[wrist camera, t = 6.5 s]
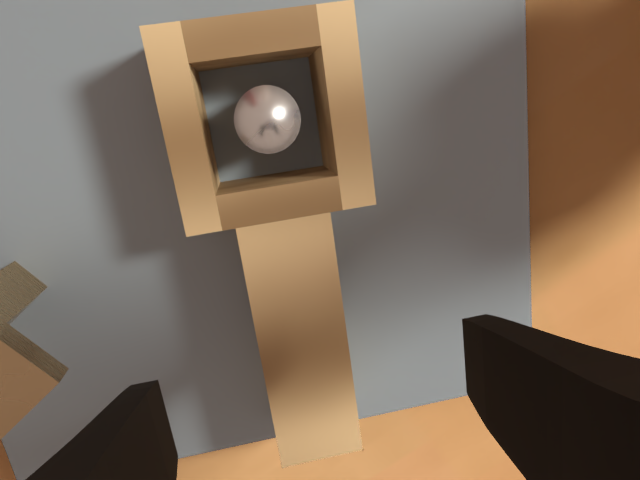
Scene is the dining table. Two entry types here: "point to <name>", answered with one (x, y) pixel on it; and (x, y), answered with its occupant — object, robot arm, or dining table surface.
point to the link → (279, 204)
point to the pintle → (267, 119)
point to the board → (222, 247)
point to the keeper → (21, 351)
